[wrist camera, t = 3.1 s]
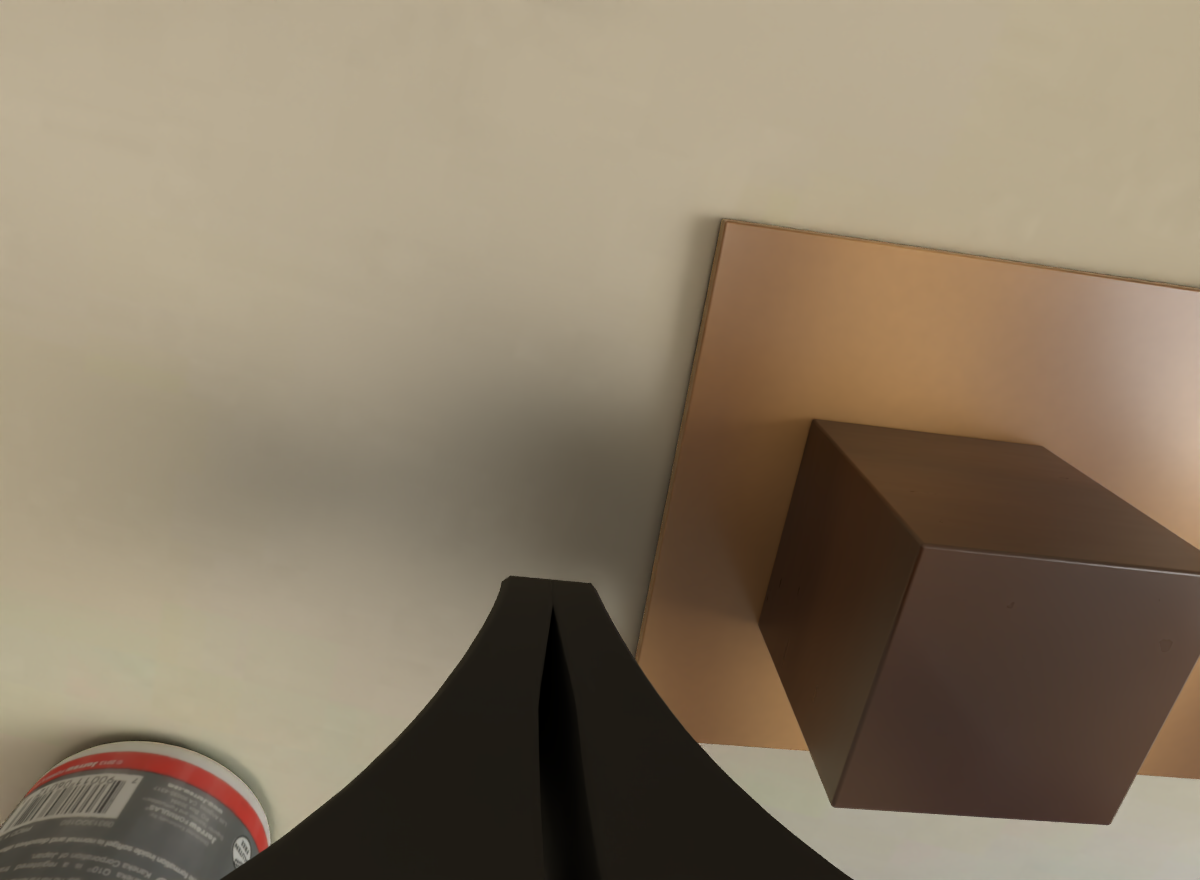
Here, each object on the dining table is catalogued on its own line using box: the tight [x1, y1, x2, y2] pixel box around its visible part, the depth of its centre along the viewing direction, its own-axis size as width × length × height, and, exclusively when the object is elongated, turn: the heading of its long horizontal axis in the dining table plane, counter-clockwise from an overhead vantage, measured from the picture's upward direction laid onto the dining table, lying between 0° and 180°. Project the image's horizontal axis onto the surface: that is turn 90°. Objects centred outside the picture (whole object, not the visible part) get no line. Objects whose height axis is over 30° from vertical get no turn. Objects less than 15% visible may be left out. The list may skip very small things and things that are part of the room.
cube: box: [758, 419, 1200, 825], centre depth 14 cm, size 5×5×5 cm
